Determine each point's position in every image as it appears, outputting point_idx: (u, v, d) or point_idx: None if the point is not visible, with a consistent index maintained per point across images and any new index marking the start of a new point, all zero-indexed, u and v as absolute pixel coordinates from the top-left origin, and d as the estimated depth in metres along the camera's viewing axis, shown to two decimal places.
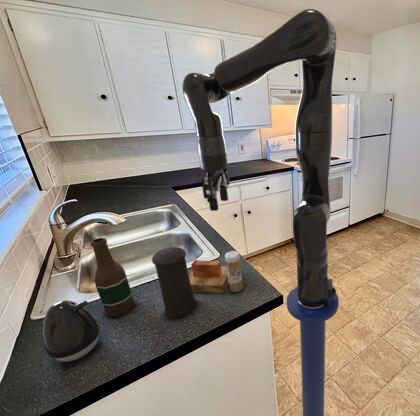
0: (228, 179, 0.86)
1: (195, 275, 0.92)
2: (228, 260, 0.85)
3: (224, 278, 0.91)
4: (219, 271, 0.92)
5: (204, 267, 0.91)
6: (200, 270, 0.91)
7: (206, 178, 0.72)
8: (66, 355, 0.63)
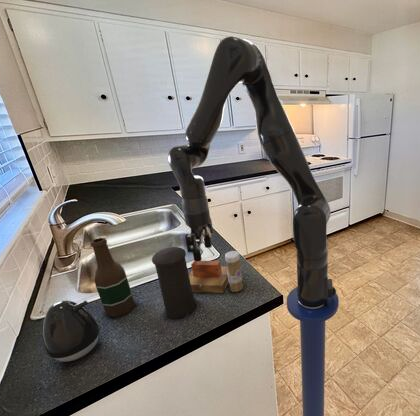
0: (212, 228, 0.94)
1: (195, 275, 0.92)
2: (228, 260, 0.85)
3: (224, 278, 0.91)
4: (219, 271, 0.92)
5: (204, 267, 0.91)
6: (200, 270, 0.91)
7: (189, 235, 0.80)
8: (66, 355, 0.63)
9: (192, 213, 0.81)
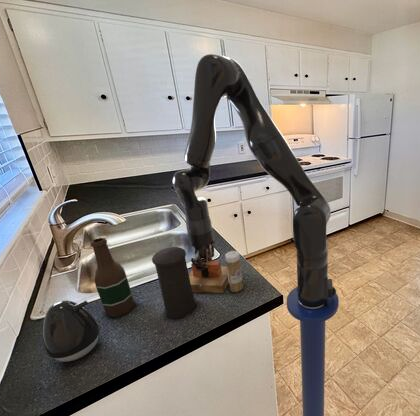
0: (213, 251, 0.95)
1: (195, 275, 0.92)
2: (228, 260, 0.85)
3: (224, 278, 0.91)
4: (219, 271, 0.92)
5: None
6: (200, 270, 0.91)
7: (195, 260, 0.84)
8: (66, 355, 0.63)
9: (196, 234, 0.83)
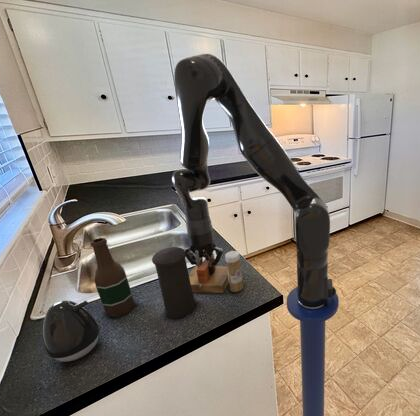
0: (217, 261, 0.89)
1: None
2: (228, 260, 0.85)
3: (224, 278, 0.91)
4: (200, 278, 0.88)
5: None
6: None
7: None
8: (66, 355, 0.63)
9: None
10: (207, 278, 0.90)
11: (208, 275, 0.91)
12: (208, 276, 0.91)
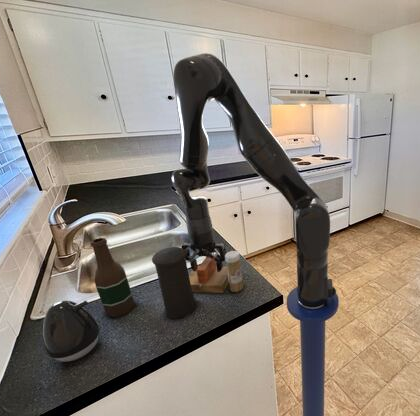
0: (223, 256, 0.89)
1: None
2: (228, 260, 0.85)
3: (224, 278, 0.91)
4: (200, 278, 0.88)
5: None
6: None
7: (183, 244, 0.89)
8: (66, 355, 0.63)
9: None
10: (207, 278, 0.90)
11: (208, 275, 0.91)
12: (208, 276, 0.91)
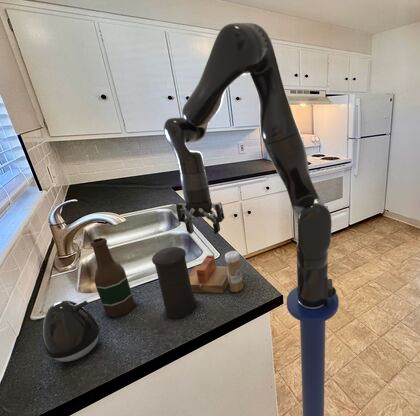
0: (220, 216, 0.84)
1: None
2: (228, 260, 0.85)
3: (224, 278, 0.91)
4: (200, 278, 0.88)
5: None
6: None
7: (178, 204, 0.84)
8: (66, 355, 0.63)
9: None
10: (207, 278, 0.90)
11: (208, 275, 0.91)
12: (208, 276, 0.91)
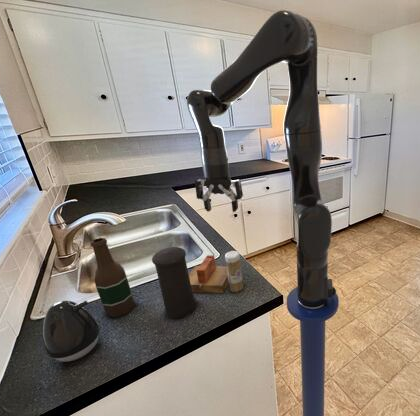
0: (239, 193, 0.84)
1: None
2: (228, 260, 0.85)
3: (224, 278, 0.91)
4: (200, 278, 0.88)
5: None
6: None
7: (197, 180, 0.84)
8: (66, 355, 0.63)
9: None
10: (207, 278, 0.90)
11: (208, 275, 0.91)
12: (208, 276, 0.91)
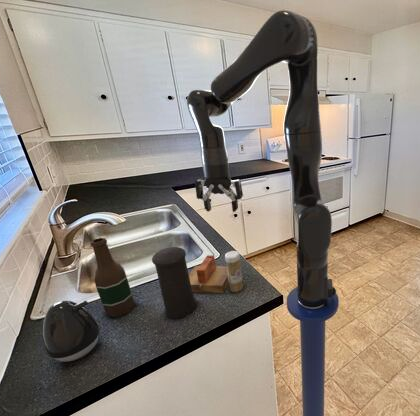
0: (239, 193, 0.84)
1: None
2: (228, 260, 0.85)
3: (224, 278, 0.91)
4: (200, 278, 0.88)
5: None
6: None
7: (197, 180, 0.84)
8: (66, 355, 0.63)
9: None
10: (207, 278, 0.90)
11: (208, 275, 0.91)
12: (208, 276, 0.91)
